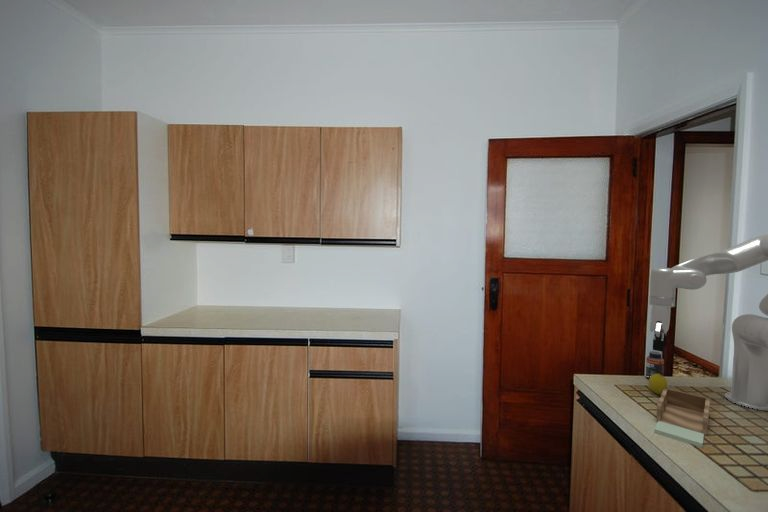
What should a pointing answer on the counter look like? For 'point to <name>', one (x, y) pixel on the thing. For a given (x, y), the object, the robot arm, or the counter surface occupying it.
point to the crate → (684, 410)
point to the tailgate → (679, 433)
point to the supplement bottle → (654, 364)
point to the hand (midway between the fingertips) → (659, 347)
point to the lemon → (657, 383)
